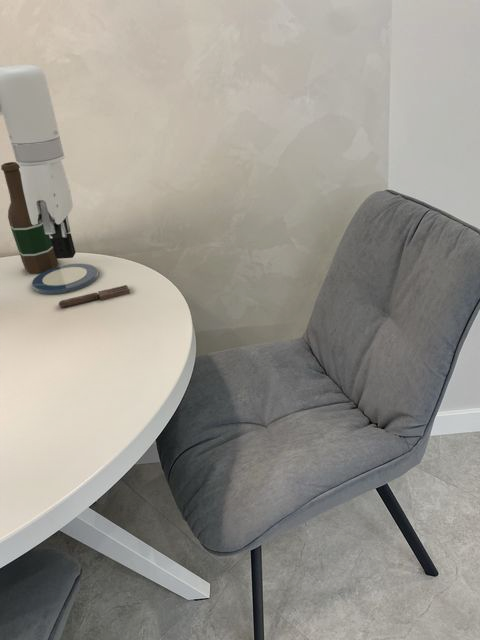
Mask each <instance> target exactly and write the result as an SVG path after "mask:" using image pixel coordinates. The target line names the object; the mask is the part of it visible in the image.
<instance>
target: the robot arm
mask: <svg viewBox="0 0 480 640" xmlns="http://www.w3.org/2000/svg"><path fill="white" fill-rule="evenodd" d="M0 116H2V117H3V120H4V123H5V127H6V131H7V134H8V137H9V141H10V144H11V147H12V151H13V155H14V158H15V162H16V163H17V164H18V165H19V166H20V168H19V171H20V174H21V181H22V186H23V191H24V196H25V200H26V204H27V208H28V213H29V217H30V220H31V223H32V225H34V226H38V225H39V224H40V223H41V222H42V220H43V226H44V231H45V234H49V237H50V238H51V242H52V246H53V249H54V253H55V257H56V258H57V260H60V259H73V258H74V257H75V255H76V253H77V252H76V248H75V245H74V241H73V236H72V233H71V226H70V222H69V214H70V213H71V211H72V210H73V206H74V204H73V198H72V194H71V190H70V186H69V181H68V178H67V174H66V171H65V167H64V165H63V161H62V160H64V159H65V152H64V149H63V145H62V140H61V137H60V136H61V135H60V132H59V128H58V124H57V119H56V115H55V111H54V107H53V101H52V97H51V93H50V90H49V85H48V81H47V78H46V74H45V72H44V71H43V69H42V68H41V67H40V66H38V65H35V64H19V65H8V66H0Z"/></svg>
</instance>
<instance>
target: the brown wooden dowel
mask: <svg viewBox="0 0 480 640" xmlns="http://www.w3.org/2000/svg"><path fill="white" fill-rule="evenodd" d="M128 294H130V289H129V286H128V284H125V285H120V286H116V287H112V288H108V289H103V290H99V291H97V292H92V293H88V294H83V295H79V296H75V297H72V298H71V297H70V298H67V299H62V300H60V301H58V306H59V308H66V307H71V306H74V305H80V304H84V303H88V302H92V301H95V300H98V299H99V300H100V301H105V300H109V299H113V298H117V297H120V296H121V297H122V296H124V295H128Z"/></svg>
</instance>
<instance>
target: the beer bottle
mask: <svg viewBox="0 0 480 640" xmlns="http://www.w3.org/2000/svg"><path fill="white" fill-rule="evenodd" d="M0 167H1V168H0V169H1V171H3V175H4V179H5V182H6V186H7V190H8V194H9V200H10V203H9V206H8V210H7V219H8V223H9V227H10V229H11V233H12V236H13V238H14V242H15V245H16V247H17V251H18V253H19V256H20V260H21V262H22V264H23V267H24V269H25V270H26V272H27V273H28V274H31V275H35V274H38V275H39V274H41V273H43V272H45V271H47V270H49V269H52V268H55V267H59V259H57V258H56V257H55V253H54V249H53V246H52V242H51V238H50V237H49V234H45V231H44V226H43V220H42V222H41V223H40V224H39V225H38V226H34V225H32V223H31V220H30V217H29V213H28V208H27V204H26V200H25V196H24V191H23V186H22V181H21V174H20V165H18V164H17V162H16V161H9V162H4V163H3V164H1V165H0Z"/></svg>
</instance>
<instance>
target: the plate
mask: <svg viewBox="0 0 480 640" xmlns="http://www.w3.org/2000/svg"><path fill="white" fill-rule="evenodd" d="M98 277H99V272H98V268H97V267H96V266H95V265H92V264H88V263H69V264H63V265H58V266H56V267H55V268H52V269H49V270H47V271H45V272H43V273H39V274H38V275H36V276H35V277H34V278H33V279H32V282H31V286H32V288H33V290H34V291H35V292H36V293H39V294H42V295H61V294H62V295H63V294H68V293H71V292H75V291H79V290H81V289H83V288H86V287H88V286H90V285H91V284H92V283H94V282H95V281H96V280H97V279H98Z"/></svg>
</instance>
